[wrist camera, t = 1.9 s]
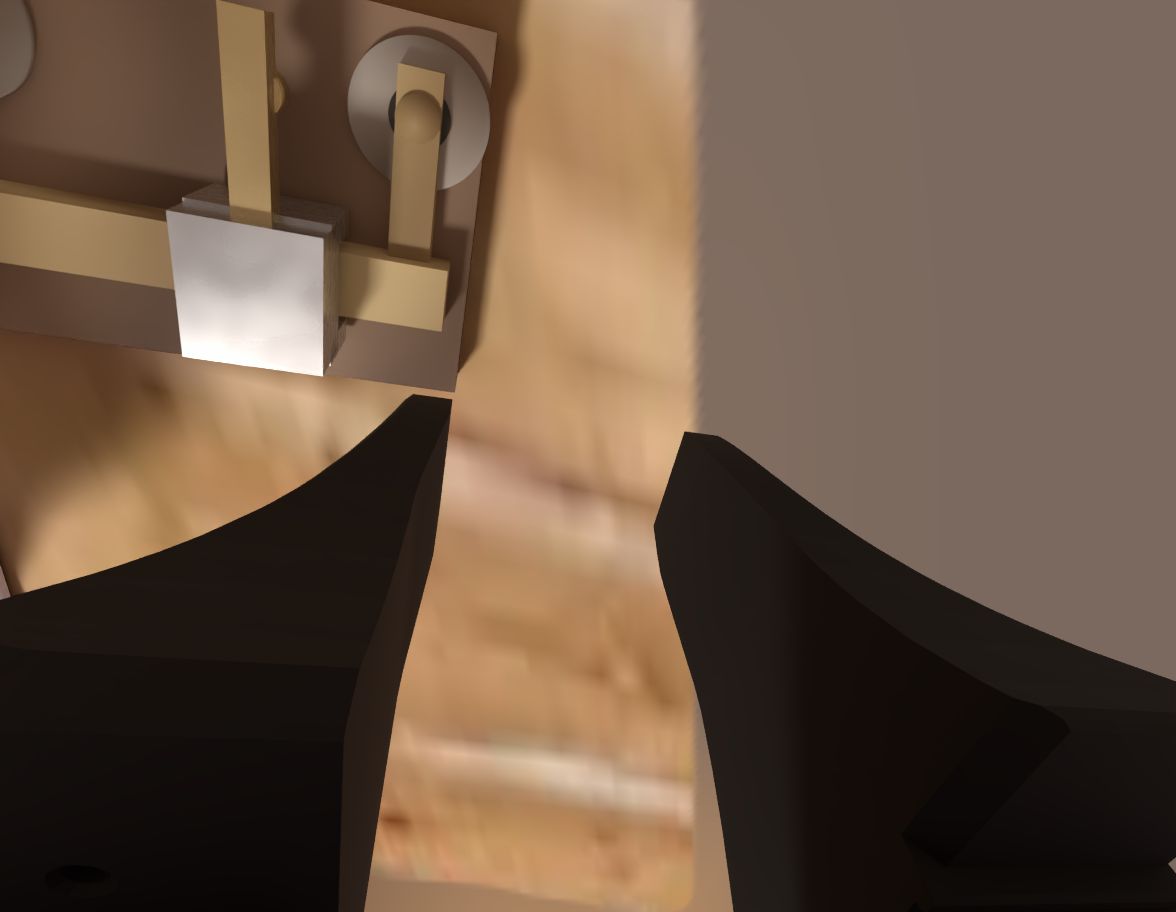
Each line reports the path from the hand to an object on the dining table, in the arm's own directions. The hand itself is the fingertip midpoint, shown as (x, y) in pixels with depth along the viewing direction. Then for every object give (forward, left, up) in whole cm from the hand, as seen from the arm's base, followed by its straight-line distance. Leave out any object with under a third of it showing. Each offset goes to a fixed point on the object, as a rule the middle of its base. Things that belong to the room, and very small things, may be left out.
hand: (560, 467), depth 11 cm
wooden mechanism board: (-9, +2, -9) cm, 13 cm away
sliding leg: (-6, +2, -8) cm, 10 cm away
